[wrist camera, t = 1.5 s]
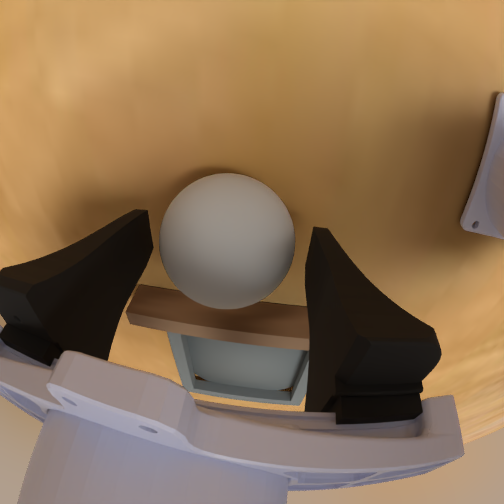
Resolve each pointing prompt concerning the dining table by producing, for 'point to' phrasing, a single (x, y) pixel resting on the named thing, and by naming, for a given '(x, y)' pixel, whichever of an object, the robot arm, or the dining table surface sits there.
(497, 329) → the dining table surface
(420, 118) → the dining table surface
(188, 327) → the rail
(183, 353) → the dish
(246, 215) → the ball
